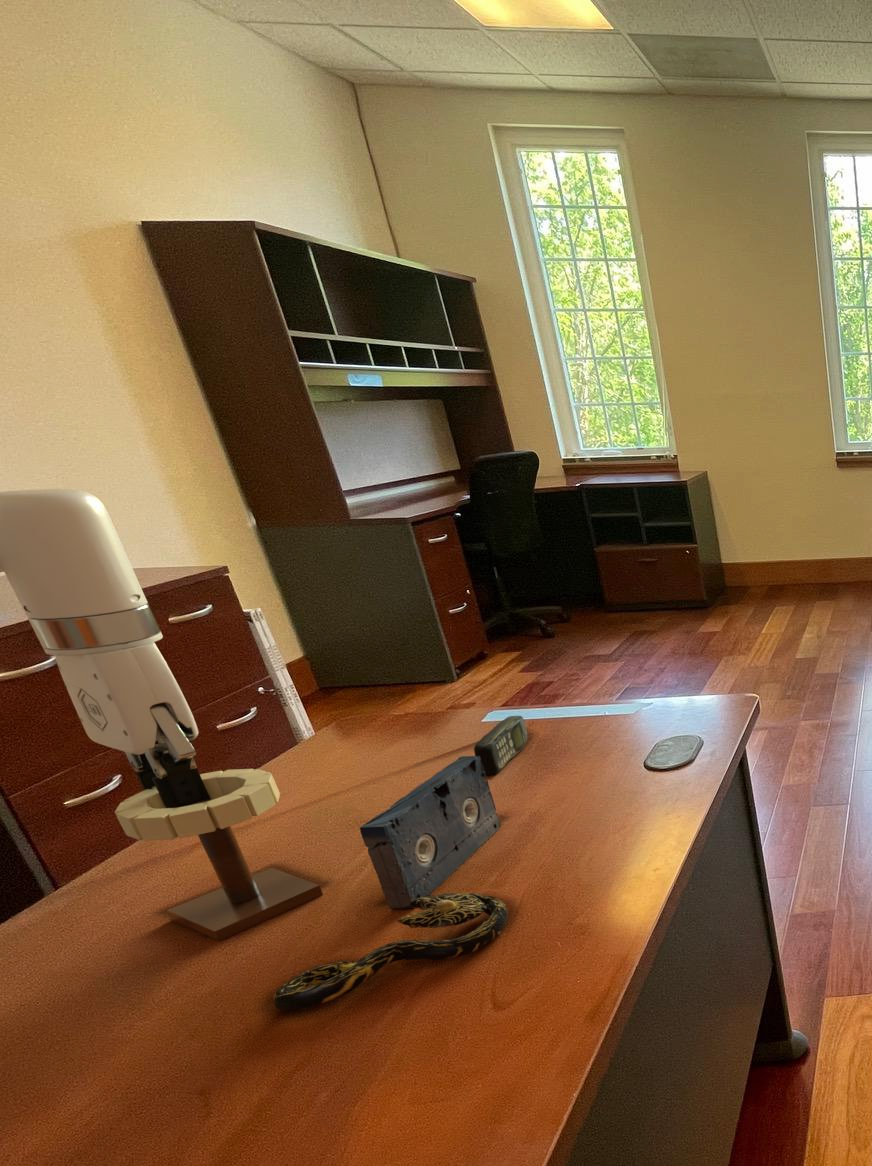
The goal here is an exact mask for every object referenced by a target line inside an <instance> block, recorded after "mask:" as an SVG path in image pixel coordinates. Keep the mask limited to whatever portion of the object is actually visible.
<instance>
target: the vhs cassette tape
mask: <svg viewBox="0 0 872 1166" xmlns="http://www.w3.org/2000/svg"><path fill="white" fill-rule="evenodd" d="M480 760H481V758H480V756H475V755H465V756H459V757H458V758H457V759H456V760H454V761H453V762H450V764H447V766H445V767H444V768H442V769H441V770H440V771H438V772H436V773H434V774H433V775H432V776H431V777H429V778H428V779H427V780H425V781H424V782H422V783H420V784H419V785H418V786H416V787H415V788H413V789H412V790H410V792H409V793H406V795H404V796H403V797H401V798H399V799H398V800H397V801H396V802H394V803H393V804H392V805H391V806H390V808H387V809H386V810H385V811H382V812H381V813H379V814H377V815H376V816H374V817H373V818H371V819H370V820H368V821H367V822H366V823H365V824H363V825H361V826H360V827H359V830H360V834H361V838H362V840H363V843H364V845H365V847H366V848H367V853H368V857H369V858H370V861H371V863H372V866H373V869H374V871H375V873H376V875H377V878H378V881H379V884H380V887H381V890H382V892H383V894H384V898H385V899H386V902H387V905H388V907H389V908H390V909H399V910H400V909H411V908H412V909H416V908H415V907H411V905H410V902H411V901H412V900H414V899H417V898H421V897H426V896H430V895H431V894H432V893H433V892H434V891H435V890H436V889H437V888H439V886H440V885H441V884H442V883H444V882H445V881H446V880H447V879H448V878H449V877H450V876H451V875H452V874H453V873H454V872H455V871H457V870H458V868H459V867H460V866H461V865H463V863H464V862H466V861H467V860H468V859H469V858H470V857H471V856H472V855H474V854H475V852H477V851H478V850H479V848H481V847H482V846H483V845H484V844H485V843H486V842H487V841H488V840H489V839H490V838H492V836H493V835H494V834H495V833H497V832H498V831H499V829H500V828H501V826H502V825H501V821H500V818H499V815H498V813H497V812H496V811H497V808H496V804H495V802H494V797H493V794H492V791H491V789H490V784H489V782H488V778H487V775H486V774H485V770H484V766H483V764H482V762H481V761H480Z"/></svg>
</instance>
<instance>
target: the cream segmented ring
mask: <svg viewBox="0 0 872 1166" xmlns="http://www.w3.org/2000/svg"><path fill="white" fill-rule="evenodd" d="M199 774H200V776H201V778H202V781H203V783H204V785H205V787H206V789H207V791H208V794H209V796H210V798H211V801H207V802H204V803H199V804H194V805H189V806H184V807H179V808H166V807H165V805H164V803H163V801H162V799H161V797H160V795H159V792H158V790H157V788H156V786H154V787H152V789H146V790H144V789H143V790H142V791H140V792H138V793H135V794H134V795H132V796H129V797H127V798H126V799H124V800H123V801H121V802H120V803H119V805H118V806H117V808H115V811H114V814H115V816H116V818H117V820H118V822H119V824H120V826H121V828H122V830H123V831H124V833H125V835H126V836H127V837H129V838H131V839H135V840H137V841H142V840H143V841H144V842H149V841H151V842H153V841H171V840H175V839H177V838H179V839H184V838H189V837H194V836H198V835H199V834H204V833H208V832H213V831H215V830H216V828H220V829H223V828H226V827H229V826H230V827H232V826H236V825H238V824H240V823H243V822H245V821H249V820H251V819H253V817H258V816H260V815H262V814H263V813H265V812H266V811H268V810H270V809H271V808H273V807H274V806H276V805H277V804H278V803H279V801H280V800H279V799H280V796H281V793H280V790H279V788H278V786H277V783H276V781H275V778H274V776H273V774H272V773H271V772H269V771H265V770H262V769H259V768H256V769H254V768H238V769H237V768H236V769H226V770H224V771H223V770H216V771H211V772H206V773H199Z"/></svg>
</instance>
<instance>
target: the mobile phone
mask: <svg viewBox="0 0 872 1166" xmlns="http://www.w3.org/2000/svg"><path fill="white" fill-rule="evenodd" d="M527 741H528V730H527V726H526V722H525V719H524V717H523V716H522V715H509V716H507V717H506V718H504V719H503V720H501V721H500V722H498V723H497V724H496V725H495V726H494V727H493V728H492V729H491V730H489V732H487V733H486V734H484V735H483V736H482V738H480V739H479V740H478V742H476V743H475V744H474V748H473V751H474V752H473V753H474V756H480V758H481V760H480V761H481V762H482V764H483V766H484V770H485V774H486V776H487V775H488V776H489V775H490V776H491V775H496V774H498V773H499V772H500V771H502V770H503V768H504V767H505V766H506V765H507V764H508V763H509V762H510V761H511V760H512V759H513V758H515V757H516V755H518V754H519V753H520V752H521V751H523V749H524V748H525V746H526V744H527Z"/></svg>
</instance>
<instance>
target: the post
mask: <svg viewBox="0 0 872 1166" xmlns="http://www.w3.org/2000/svg"><path fill="white" fill-rule="evenodd" d="M207 801H211V800H204V801H200V802H196V803H194V804H199V803H204V802H207ZM194 804H191V805H194ZM197 836H198V838H199V841H200V843H201V845H202V847H203V850H204V851H205V853H206V856H207V858H208V859H209V862H210V864H211V867H212V869H213V870H214V873H215V874H216V877H217V879H218V881H219V883H220V885H221V887H220V888H218V889H215V890H213V891H210V892H208V893H205V894H203V895H200V896H198V897H195V898H193V899H191V900H188V901H186V902H184V903H181V904H179V905H176V906H173V907H171V908H169V909H166V912H167V914H168V916H169V918H170V920H171V921H173V922H176V923H178V924H180V925H182V926H184V927H186V928H188V929H191V930H193V931H195V932H198V933H200V934H203V935H204V936H207V937H209V938H210V939H211V938H212V939H213V940H216V941H218V942H221V941H223V940H226V939H228V938H230V937H232V936H234V935H237V934H239V933H241V932H244V931H246V930H248V929H250V928H252V927H254V926H257V925H259V924H261V923H263V922H266V921H267V920H270V919H272V918H274V917H277V916H279V915H281V914H283V913H286V912H288V911H290V910H293V909H294V908H296V907H299V906H301V905H302V904H306V903H307V902H309V901H313V900H315V899H316V898H318V897H321V896H324V893H323V890H322V888H321V885H319V884H317V883H314V882H311V881H308V880H307V879H303V878H301V877H298V876H295V875H292V874H290V873H287V872H284V871H281V870H279V869H276V868H274V867H269V868H267V869H264V870H262V871H260V872H257V873H255V874H252V871H251V869H250V866H249V865H248V863H247V860H246V858H245V856H244V854H243V851H242V850H241V849H242V848H241V847H240V844H239V843H238V840H237V838H236V835H235V834H234V831H233V829H232V826H229V827H226V828H223V829H220V828H216V830H215V831H213V832H208V833H204V834H199V835H197Z"/></svg>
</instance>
